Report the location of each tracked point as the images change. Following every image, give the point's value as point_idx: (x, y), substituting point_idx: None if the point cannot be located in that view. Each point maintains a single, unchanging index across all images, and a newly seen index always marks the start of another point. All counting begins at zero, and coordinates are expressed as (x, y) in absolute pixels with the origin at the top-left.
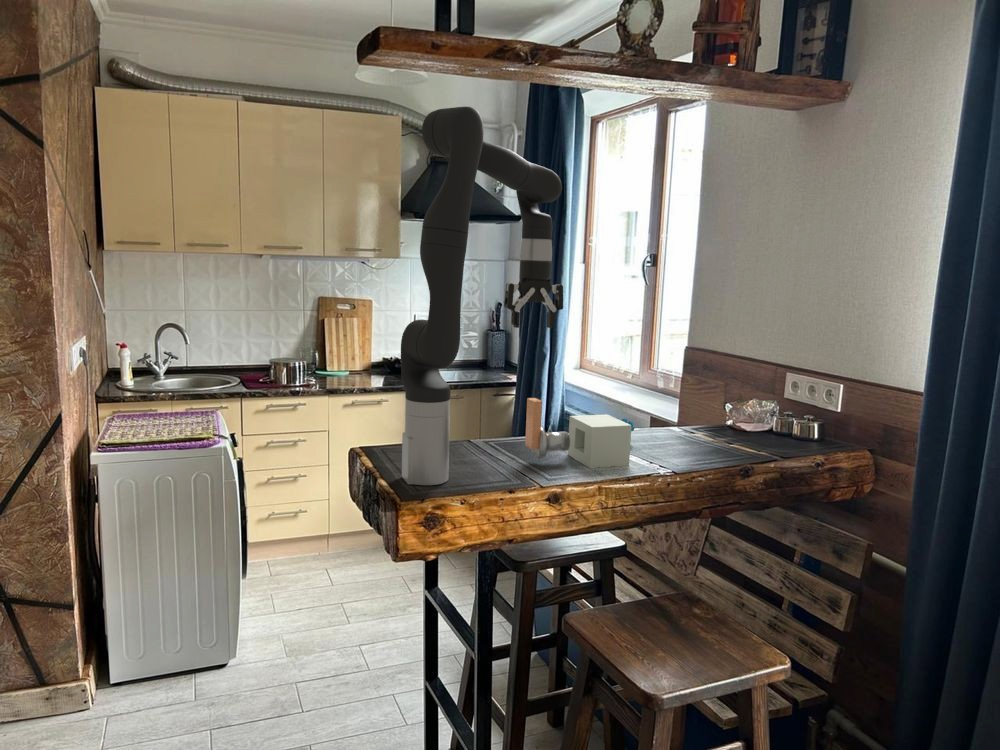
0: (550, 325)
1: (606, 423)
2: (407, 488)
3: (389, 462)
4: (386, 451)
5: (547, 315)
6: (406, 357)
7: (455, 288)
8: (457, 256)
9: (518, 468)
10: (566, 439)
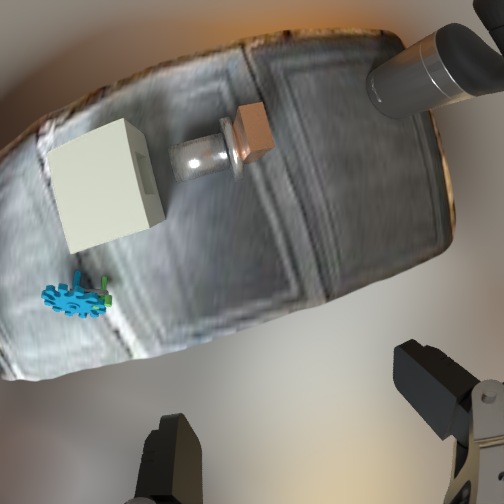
0: (174, 420)
1: (86, 159)
2: None
3: (430, 174)
4: (432, 228)
5: (197, 497)
6: None
7: None
8: None
9: None
10: (175, 145)
